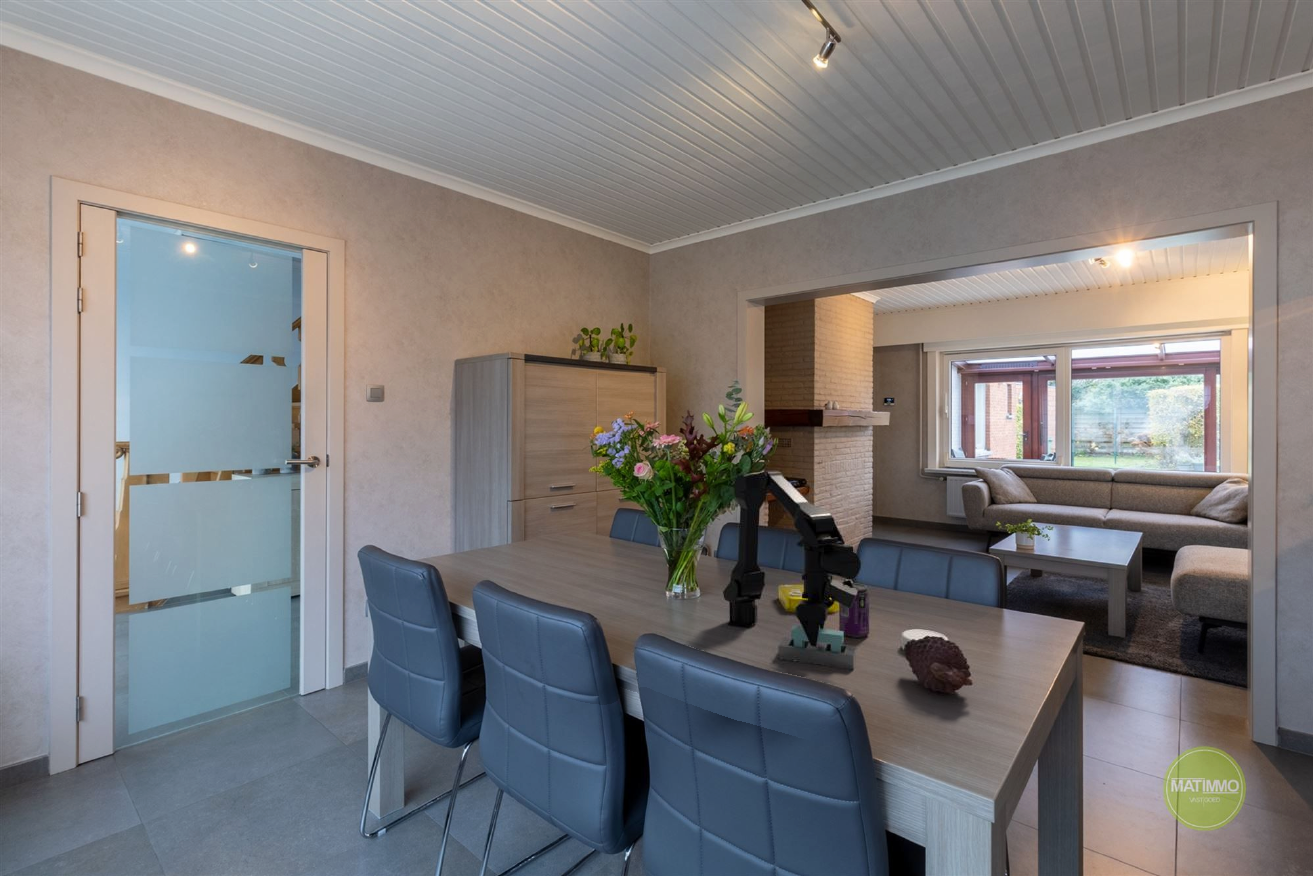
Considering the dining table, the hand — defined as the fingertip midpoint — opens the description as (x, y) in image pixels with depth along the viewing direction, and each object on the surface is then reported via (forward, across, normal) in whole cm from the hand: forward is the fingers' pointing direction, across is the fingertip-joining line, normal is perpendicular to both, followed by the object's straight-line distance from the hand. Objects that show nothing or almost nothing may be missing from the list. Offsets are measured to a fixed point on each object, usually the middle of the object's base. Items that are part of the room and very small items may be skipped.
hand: (817, 639), depth 134 cm
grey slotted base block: (+4, 0, 0) cm, 4 cm away
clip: (+4, 0, 0) cm, 5 cm away
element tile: (+5, +41, +9) cm, 42 cm away
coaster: (+5, +15, -22) cm, 27 cm away
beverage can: (+5, +20, -6) cm, 21 cm away
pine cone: (+5, -6, -24) cm, 25 cm away
